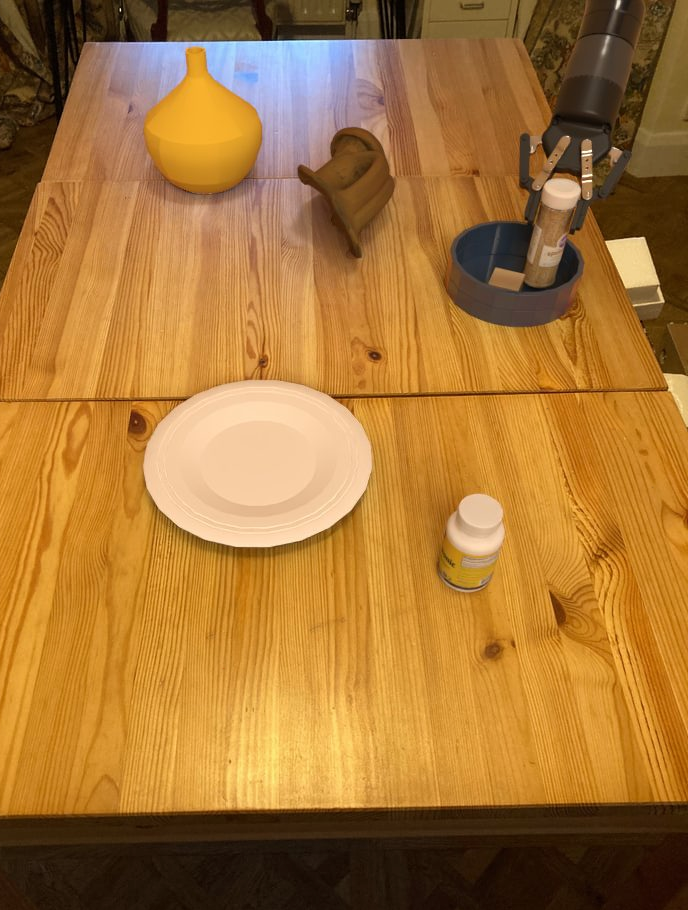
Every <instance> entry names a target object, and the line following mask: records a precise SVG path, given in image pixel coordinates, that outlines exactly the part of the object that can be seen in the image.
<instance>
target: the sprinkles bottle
mask: <svg viewBox="0 0 688 910" xmlns="http://www.w3.org/2000/svg"><path fill="white" fill-rule="evenodd" d="M580 193H581V188H580V184H579V183H577V182H576V181H574V180H572V179H569V178H564V177H555V178H554V177H553V178H552V179H551V180H548V181H547V182H546V183H545V184H544V186H543V190H542V194H541V200H540V203H539V207H538V211H537V215H536V218H535V220H534V224H535V225H534V230H533V234H532V238H531V241H530V245H529V249H528V254H527V261H526V264H525V268H524V271H523V273H522V274H525V277H524V282H525V283H526V284H527V285H529V286H532V287H535V288H546V287H549V286H551V285H552V284H554V282H555V276H556V272H557V268H558V265H559V262H560V260H561V256H562V253H563V249H564V246H565V242H566V239H567V238H568V235H569V230H570V226H571V223H572V220H573V216H574V213H575V210H576V206H577V203H578V200H580Z"/></svg>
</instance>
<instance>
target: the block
mask: <svg viewBox="0 0 688 910" xmlns="http://www.w3.org/2000/svg"><path fill="white" fill-rule="evenodd" d="M524 277H525V274H522V273H518V272H513V271H509V270H505V269H500V268H495V269H494V272H493V274H492V276H491V278H490V280H489V282H488V285H491V286H493V287H496V288H500V289H505V290H510V291H516V292H521V289H522V285H523V281H524Z"/></svg>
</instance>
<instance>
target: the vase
mask: <svg viewBox="0 0 688 910" xmlns="http://www.w3.org/2000/svg"><path fill="white" fill-rule="evenodd" d="M184 54H185V63H186V73H185V75H184V77H183V78H182V80H181V81H180V82H179V83H178V84H177V85H176V86H175V87H174V88H173V89H172V90H171V91H170V92H169V93H168V94H167V95H165V96H164V97H163V98H162V99H161V100H160V101H159V102H157V103H156V104H154V106H153V107H151V109H150V110H148V112H147V113H146V116H145V118H144V122H143V128H142V131H143V137H144V142H145V148H146V152H147V153H148V155H149V156H150V158H151V160H152V162H153V163H154V165H155V167H156V168H157V170H158V171H159V172H160V174H162V175H163V176H164V177H165V178H166V179H167V180H168V181H169V182H170V183H171V184H172V185H174V186H176V187H177V188H179V189H181V190H183V189H184V190H183V191H185V190H186V191H185V192H188V191H189V193H191V192H194V193H193V194H195V193H202V194H201V195H210V194H209V193H217V194H219V193H218V192H221V191H224V192H226V191H225V190H227V191H228V189H229V190H231V189H233V188H234V187H235V186H237V185H238V184H239V183H241V182H242V181H243V180H244V179H245V178H246V177H247V175H248V174H249V172H250V171H251V170H252V168H253V167H254V166H255V164H256V162H257V159H258V156H259V153H260V150H261V148H262V144H263V123H262V121H261V117H260V116H259V114H258V111H257V109H256V107H254V106H253V105H252V104H251V103H250V102H248V101H247V100H245V99H244V98H242V97H241V96H239V95H237V94H236V93H235V92H233V91H232V90H230V89H228V87H226V86H225V85H223V84H221V83H220V81H217V80H216V79H215V78H214V77H213V76H212V74H211V73H209V69H208V62H207V60H208V59H207V51H206V48H205V47H203V46H189V47H187V48H186V49H185V50H184ZM230 188H231V189H230ZM203 193H205V194H203ZM221 193H222V192H221Z"/></svg>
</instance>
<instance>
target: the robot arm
mask: <svg viewBox="0 0 688 910" xmlns="http://www.w3.org/2000/svg"><path fill="white" fill-rule="evenodd" d="M646 10H647V9H646V3H645V1H644V0H585V2H584V13H583V16H582V20H581V23H580V27H579V30H578V33H577V36H576V40H575V43H574V47H573V49H572V52H571V54H570V56H569V59H568V61H567V64H566V67H565V70H564V74H563V77H562V80H561V84H560V88H559V91H558V95H557V98H556V101H555V105H554V108H553V112H552V115H551V118H550V122H549V124H548V126H547V128H546V129H545V130H544V131H543V132H542V134H537V135H530V134H529V133H528V132H524V133H522V134H520V136H519V160H518V161H519V162H518V163H519V164H518V165H519V166H518V187H519V188H520V189H521V190H525V191H526V192H528V193H529V195H528V199H527V202H526V205H525V208H524V211H523V219H524V220H523V221H525V222H527V226H531V227H533V224H535V221H536V218H537V215H538V211H539V208H540V204H541V203H540V201H541V194H542V190H543V186H544V184H545V183H546V182H547V181H548V180H551V179H553V178H554V176H555V174H558V175H564V174H568V175H570V176H572V177H576V178H579V186H580V188H581V193H580V197H579V200H578V203H577V205H576V207H575V209H574V212H573V216H572V219H571V223H570V227H569V230H568V235H572V236H574V235H575V234H576V231H577V232H580V231H581V230H582V229H583V227H584V223H585V220H586V217H587V213H588V210H589V207H590V206H591V205H593V204H604V203H605V202H607V200H608V198H609V197H610V195H611V193H612V192H613V191H614V189H615V187H616V185H617V184H618V182H619V181H620V179H621V177H622V176H623V174H624V172H625V171H626V169H627V168H628V166H629V164H630V161H631V159H632V156H633V153H632V151H630V150H629V149H625V150H621V149H618V148H617V147H614V146H613V140H612V134H613V131H614V128H615V124H616V121H617V118H618V115H619V112H620V108H621V105H622V102H623V98H624V96H625V93H626V91H627V86H628V81H629V79H630V76H631V71H632V65H633V60H634V59H633V58H634V54H635V52H636V49H637V45H638V42H639V38H640V35H641V31H642V28H643V25H644V21H645V18H646V12H647V11H646ZM538 147H541V148H542V150H543V152H544V155H545V158H546V161H545V163H544V164H543V165H542V167H541V169H540V171H539V172H538V175H537V176H536V177H535V178H534V177H532V176H531V175H530V159H531V158H530V157H531V156H534V155H535V154H536V153H537V149H538ZM606 158H609V163H608V168H609V170H610V172H609V173H608V175H607V177H606V178H605V180H604V182H603V183H602V185H601V187H600V188H596V189H593V170H594V169H595V168H596V167H597V166H599V164H600V163H602V162H603V161H604V160H605V159H606Z"/></svg>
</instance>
